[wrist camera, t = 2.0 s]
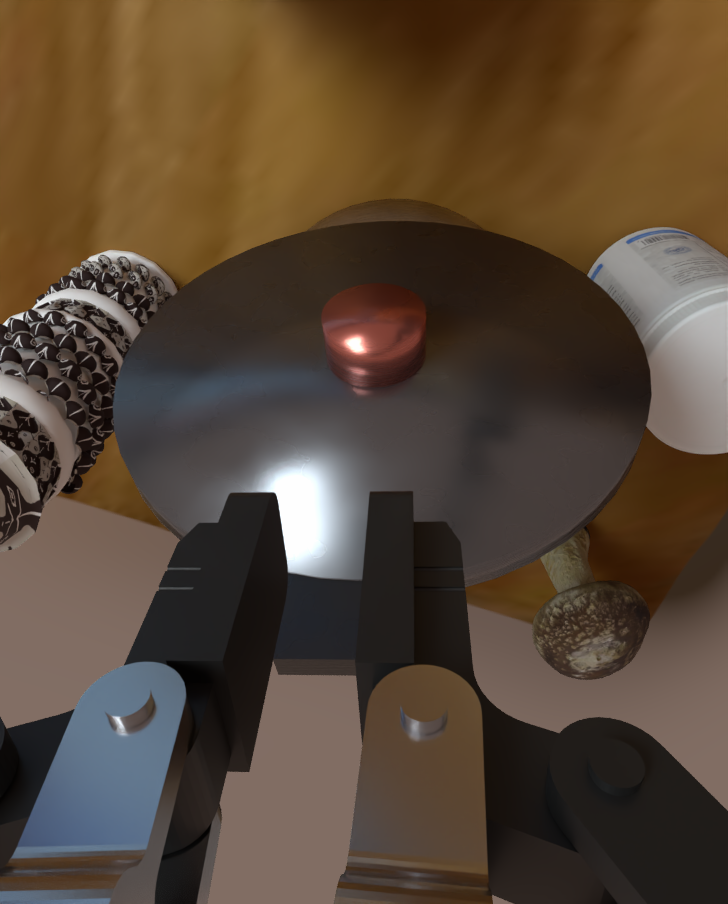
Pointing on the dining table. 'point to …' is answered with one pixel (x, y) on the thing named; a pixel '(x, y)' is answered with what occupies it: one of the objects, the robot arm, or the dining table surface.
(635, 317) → the supplement tub
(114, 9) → the dining table surface
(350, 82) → the dining table surface
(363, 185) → the dining table surface
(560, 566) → the mushroom
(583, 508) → the cooker lid
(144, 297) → the decorative candle
